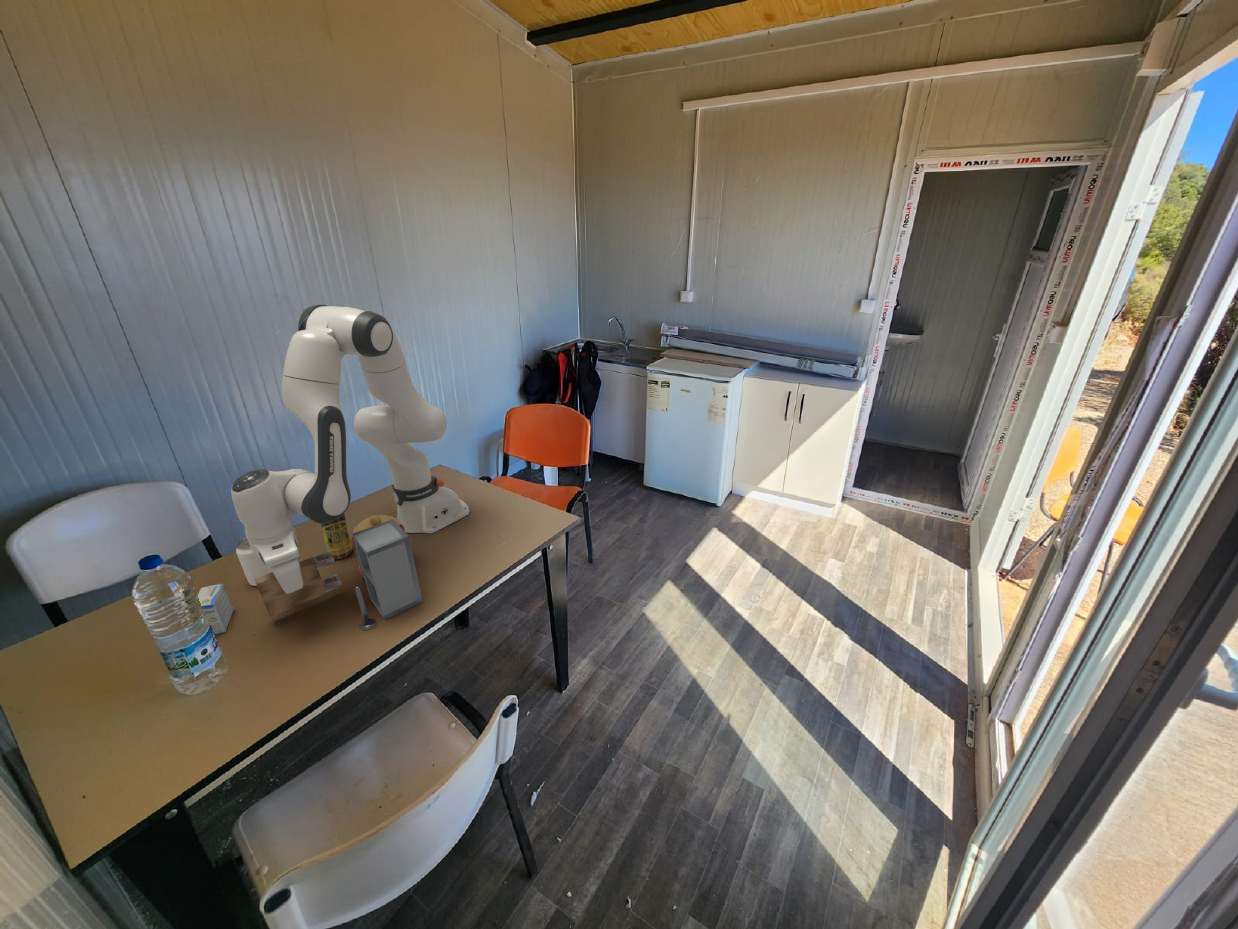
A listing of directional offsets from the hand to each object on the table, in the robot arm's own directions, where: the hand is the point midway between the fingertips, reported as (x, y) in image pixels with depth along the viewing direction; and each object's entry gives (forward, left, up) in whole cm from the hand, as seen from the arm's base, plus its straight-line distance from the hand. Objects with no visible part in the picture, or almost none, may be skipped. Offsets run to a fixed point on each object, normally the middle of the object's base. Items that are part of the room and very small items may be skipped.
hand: (291, 586), depth 118 cm
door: (-2, 0, -5) cm, 6 cm away
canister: (-22, -2, -8) cm, 23 cm away
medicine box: (+15, -8, -8) cm, 19 cm away
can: (+4, -20, -8) cm, 22 cm away
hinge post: (-11, +16, -8) cm, 21 cm away
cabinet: (-19, +12, -8) cm, 24 cm away
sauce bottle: (-15, -18, -8) cm, 25 cm away
